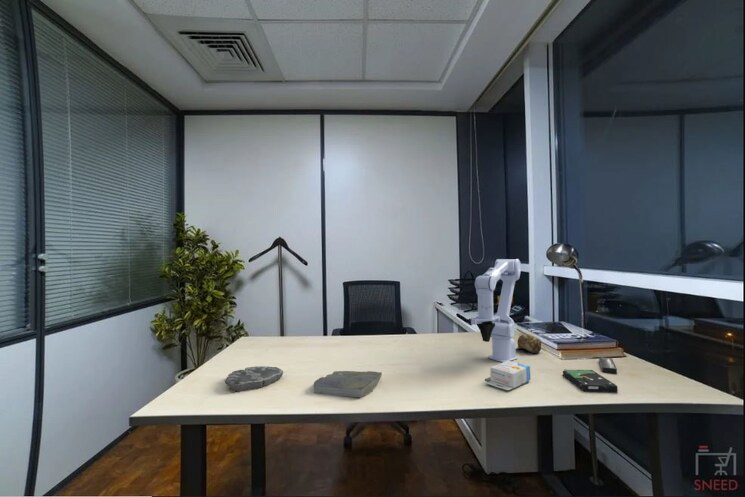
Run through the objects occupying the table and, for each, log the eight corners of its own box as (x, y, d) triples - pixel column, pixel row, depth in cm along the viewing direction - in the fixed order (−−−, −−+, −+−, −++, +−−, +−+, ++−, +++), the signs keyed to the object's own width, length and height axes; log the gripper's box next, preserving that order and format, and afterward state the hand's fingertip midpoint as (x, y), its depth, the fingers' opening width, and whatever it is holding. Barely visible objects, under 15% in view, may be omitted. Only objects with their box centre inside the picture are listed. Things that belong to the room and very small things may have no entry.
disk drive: (618, 394, 103) (592, 377, 117) (618, 385, 103) (592, 369, 117) (584, 393, 104) (562, 376, 118) (583, 384, 104) (561, 368, 119)
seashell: (545, 355, 143) (545, 336, 143) (524, 355, 143) (523, 336, 143) (533, 347, 154) (533, 331, 154) (513, 348, 154) (513, 331, 155)
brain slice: (267, 370, 129) (266, 362, 129) (289, 381, 117) (289, 373, 117) (214, 384, 115) (214, 375, 115) (233, 398, 103) (233, 389, 103)
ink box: (530, 365, 113) (508, 375, 104) (530, 380, 113) (509, 391, 103) (507, 359, 120) (484, 369, 110) (507, 373, 119) (485, 383, 110)
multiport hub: (602, 373, 121) (602, 367, 121) (598, 362, 133) (598, 356, 133) (617, 375, 118) (616, 368, 119) (612, 363, 131) (611, 358, 131)
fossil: (330, 378, 122) (309, 393, 105) (331, 365, 122) (309, 379, 106) (382, 385, 116) (367, 402, 100) (382, 371, 116) (367, 387, 100)
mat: (503, 374, 120) (503, 373, 120) (528, 383, 111) (528, 381, 111) (484, 380, 115) (484, 378, 115) (509, 389, 106) (509, 388, 106)
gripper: (489, 303, 135) (490, 336, 134) (464, 306, 127) (465, 341, 127) (504, 305, 129) (504, 340, 128) (479, 308, 121) (479, 345, 121)
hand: (486, 341), depth 127 cm, fingers closed
